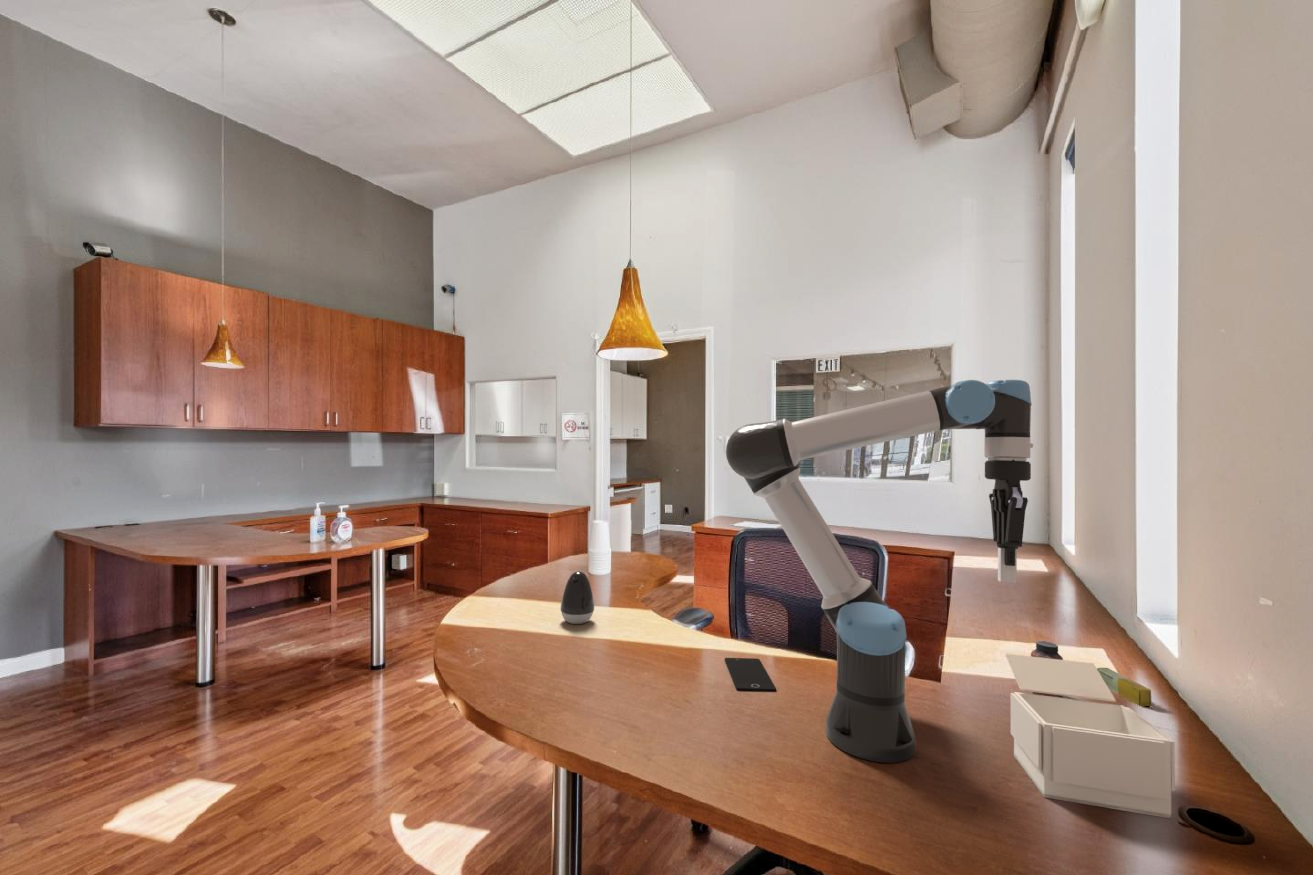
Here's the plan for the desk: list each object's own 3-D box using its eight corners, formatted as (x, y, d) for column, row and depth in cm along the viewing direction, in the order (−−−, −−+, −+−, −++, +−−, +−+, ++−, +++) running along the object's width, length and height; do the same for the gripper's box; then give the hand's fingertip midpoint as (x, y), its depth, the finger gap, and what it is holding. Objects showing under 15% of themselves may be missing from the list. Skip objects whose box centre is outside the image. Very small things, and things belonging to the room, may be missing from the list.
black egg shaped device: (554, 625, 158) (556, 574, 158) (566, 615, 168) (568, 567, 169) (588, 628, 156) (589, 576, 157) (597, 618, 166) (599, 569, 167)
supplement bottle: (1028, 694, 119) (1028, 642, 119) (1032, 686, 123) (1032, 636, 124) (1061, 703, 115) (1061, 649, 115) (1064, 694, 119) (1064, 643, 120)
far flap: (1005, 653, 100) (1005, 655, 101) (1020, 688, 93) (1020, 690, 94) (1093, 663, 97) (1092, 664, 97) (1115, 700, 90) (1115, 702, 90)
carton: (1041, 798, 81) (1041, 725, 82) (1009, 755, 93) (1009, 691, 94) (1179, 822, 77) (1178, 744, 77) (1127, 773, 89) (1127, 705, 89)
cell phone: (736, 692, 117) (736, 688, 117) (724, 661, 135) (724, 657, 135) (776, 693, 117) (776, 689, 117) (759, 662, 135) (759, 658, 135)
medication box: (1096, 684, 126) (1096, 666, 126) (1108, 684, 126) (1107, 667, 126) (1140, 707, 114) (1139, 689, 114) (1153, 708, 114) (1152, 689, 114)
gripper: (1044, 460, 97) (1044, 591, 96) (1016, 460, 109) (1016, 576, 108) (997, 459, 99) (997, 587, 98) (975, 459, 111) (974, 573, 110)
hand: (1007, 581), depth 103 cm, fingers closed
